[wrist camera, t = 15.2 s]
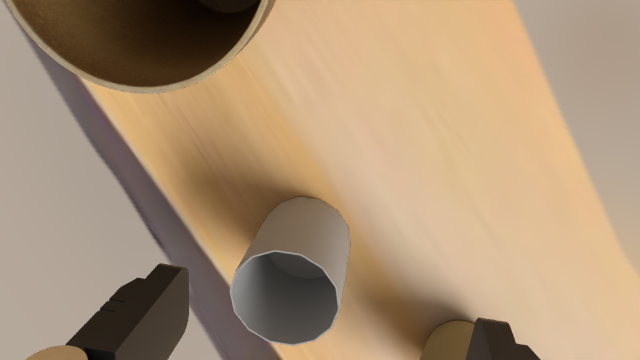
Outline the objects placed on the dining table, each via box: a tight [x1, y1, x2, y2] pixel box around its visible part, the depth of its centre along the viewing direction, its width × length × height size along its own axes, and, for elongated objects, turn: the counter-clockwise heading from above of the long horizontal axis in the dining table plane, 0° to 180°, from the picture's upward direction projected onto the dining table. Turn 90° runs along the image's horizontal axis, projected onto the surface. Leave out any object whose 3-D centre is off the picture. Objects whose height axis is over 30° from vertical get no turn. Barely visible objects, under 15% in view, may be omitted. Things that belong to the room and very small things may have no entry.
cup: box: [230, 197, 351, 346], centre depth 40 cm, size 8×8×10 cm
